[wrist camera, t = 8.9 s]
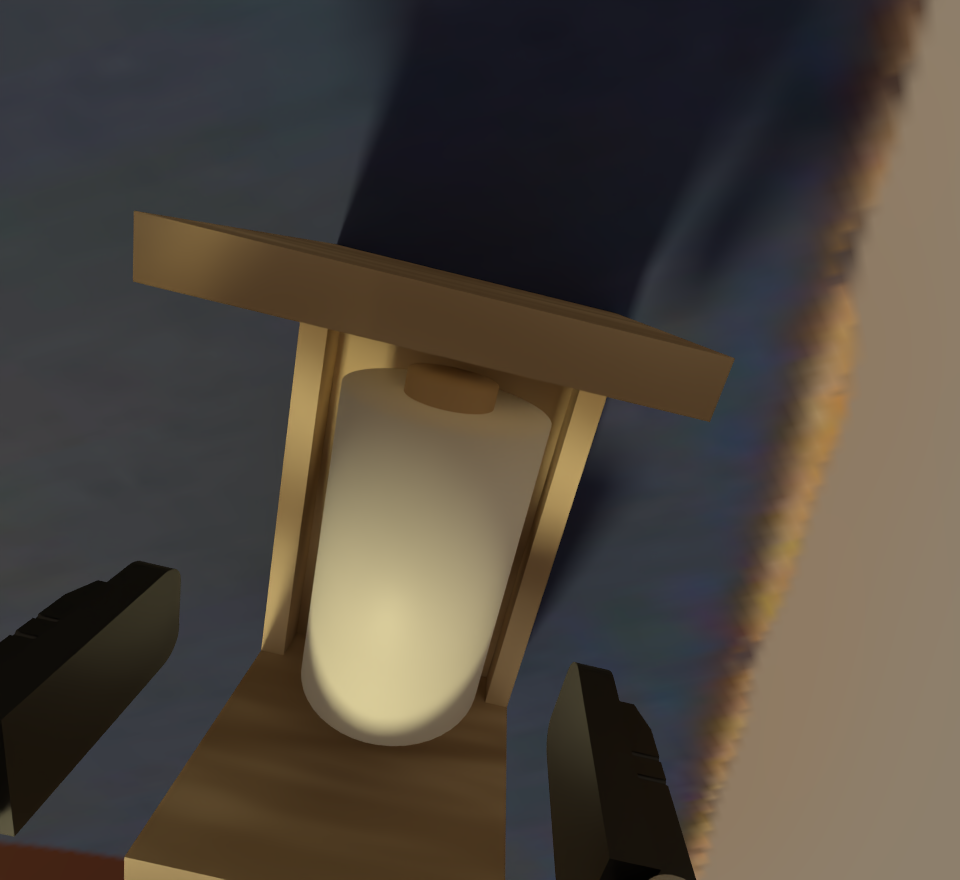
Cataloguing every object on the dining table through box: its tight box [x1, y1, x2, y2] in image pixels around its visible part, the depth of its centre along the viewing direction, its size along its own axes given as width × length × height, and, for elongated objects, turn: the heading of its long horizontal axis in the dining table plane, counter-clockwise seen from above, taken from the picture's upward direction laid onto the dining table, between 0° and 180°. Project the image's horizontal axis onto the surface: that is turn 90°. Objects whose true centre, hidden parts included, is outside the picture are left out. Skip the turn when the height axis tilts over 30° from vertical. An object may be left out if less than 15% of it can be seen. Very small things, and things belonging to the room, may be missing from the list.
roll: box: [301, 363, 552, 746], centre depth 15 cm, size 10×6×6 cm, turn 167°
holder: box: [124, 211, 735, 880], centre depth 14 cm, size 15×9×9 cm, turn 167°
